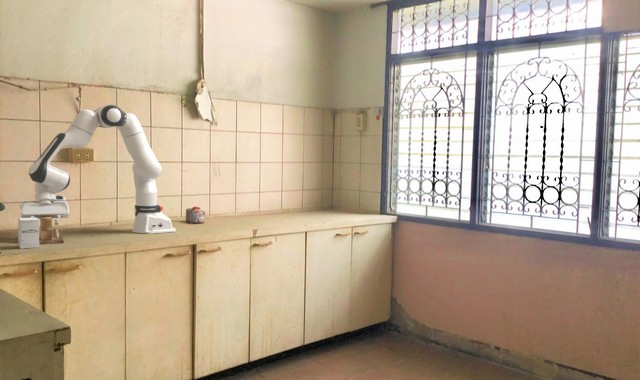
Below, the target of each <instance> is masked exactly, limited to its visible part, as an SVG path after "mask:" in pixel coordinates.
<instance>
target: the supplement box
mask: <svg viewBox="0 0 640 380" xmlns="http://www.w3.org/2000/svg"><path fill="white" fill-rule="evenodd" d="M17 225H18V226H17V232H18V235H17V236H18V240H17V242H18V243H17V245H18V248H19V249H21V250H22V249H31V248H32V249H35V248H37V249H38V248H40V244H39V237H40V219H38V218H21V217H18V218H17Z"/></svg>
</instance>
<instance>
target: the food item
mask: <svg viewBox="0 0 640 380" xmlns="http://www.w3.org/2000/svg"><path fill="white" fill-rule="evenodd" d="M205 220H206V210H204V209H201V207H199V206H193V207H189V208H186V209H185V221H186V222H188V223H190V224H197V225H198V224H199V225H200V224H205Z"/></svg>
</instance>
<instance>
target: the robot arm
mask: <svg viewBox="0 0 640 380" xmlns="http://www.w3.org/2000/svg"><path fill="white" fill-rule="evenodd" d="M114 127H115V128H117V129H118V131H119V132H120V135H121V137H122V140H123V142H124V145H125V148H126V150H127V152H128V154H129V156H131V158H132V160H133V164H132V172H133V173H132V174H133V180H134V187H135V204H134V216H135V217H134V224H133V227H132V228H133V229H132V233H136V234H137V233H139V234H148V235H150V234H152V235H153V234H162V233H163V234H164V233H175V232H177V228H176V227H173V222H172V219H171V218H170V217H169V216H167V215H166V214H164V213H163V212H162V211H163V210H164V206H162V205H159V204H158V188H157V185H156V184H157V183H156V179H157V178H158V177H160V176H161V174H162V172H163V168H162V165H161V164H160V162H159V160H158V159H157V156H156V154H155V153H154V151H153V149H152V147H151V146H150V144H149V142H148V139H147V137H146V134H145V131H144V129H143V127H142V125H141V123H140V120H139V119H138V118H137V116H136V115H135V114H134V113H131V112H124V110H122V109H121V108H120V107H118V106H117V105H113V104H107V105H103V106H101V107H99V108H97V109H95V110H91V109H86V108H85V109H81V110H80V111H79V112H78V113H77V114H76V116H75V117H74V119H73V120H72V122H71V123H70V125H69V127H68V129H66V130H65V131H64V132H60V133H58V134H57V135H55V137H54V138H53V139H52V140H51V141H50V143H49V144H48V145H47V147H46V148H45V149H44V151H43V152H42V153H41V154H40V156H39V157H38V158H37V160H36V161H34V162H33V163H32V164H31V165H30V167H29V170H28V175H29V177H30V179H31V181H32V182H35V183H34V191H35V195H34V200H33V201H30V200H29V201H27V200H25V201H23V202H21V203H20V210H21V213H20V214H21V215H20V218H38V219H39V220H41V218H40V217H49V216H51V217H52V219H54V225H55V226H57V225H58V226H59V222H60V221H61V219H66V218H67V219H68V218H69V217H70V214H71V213H70V206H69V203H68V202H67V199H66V196H63V195H58V194H57V193H61V192H62V191H64V190H67V188H68V187H69V186H70V183H71V176H70V173H69V172H67V171H65V170H63V169H61V168H59V167H55V166H53V165H51V162H52V160H53V159H54V158H55V156H57V154H58V152H59V151H60V150H61V149H64V148H74V149H77V148H78V149H79V148H84V147H86V146H87V145H88V144H89V143H90V142H91V140H92V138H93V136H94V134H95V131H96V130H97V129H98V128H103V129H109V128H114Z"/></svg>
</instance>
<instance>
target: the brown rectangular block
mask: <svg viewBox="0 0 640 380" xmlns="http://www.w3.org/2000/svg"><path fill="white" fill-rule="evenodd" d="M40 218H41V219H40V237H41V240H52V236H53V218H52V217H51V216H49V217H40Z"/></svg>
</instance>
